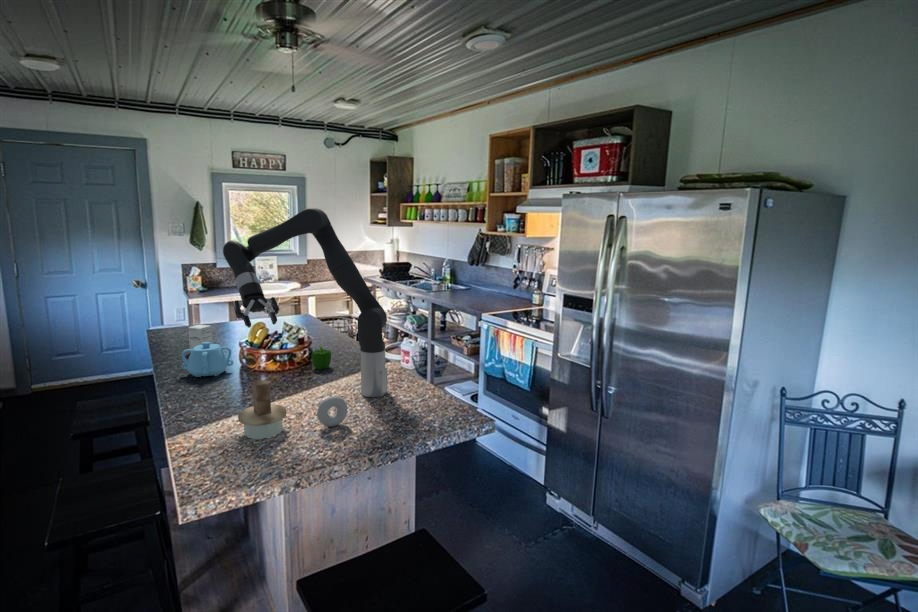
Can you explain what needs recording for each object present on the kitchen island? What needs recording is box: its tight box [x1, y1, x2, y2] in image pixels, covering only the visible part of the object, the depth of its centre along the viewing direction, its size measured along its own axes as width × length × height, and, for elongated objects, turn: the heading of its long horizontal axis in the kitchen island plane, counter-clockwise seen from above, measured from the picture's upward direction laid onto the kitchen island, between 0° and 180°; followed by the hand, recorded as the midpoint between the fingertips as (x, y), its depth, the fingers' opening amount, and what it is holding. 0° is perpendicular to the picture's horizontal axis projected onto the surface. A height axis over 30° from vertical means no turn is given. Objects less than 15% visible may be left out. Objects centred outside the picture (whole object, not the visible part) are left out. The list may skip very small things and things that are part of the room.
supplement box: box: [188, 323, 214, 349], centre depth 242 cm, size 7×7×13 cm
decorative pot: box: [181, 342, 234, 378], centre depth 210 cm, size 16×16×14 cm
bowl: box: [243, 419, 283, 440], centre depth 158 cm, size 11×11×5 cm
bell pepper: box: [311, 344, 332, 370], centre depth 221 cm, size 8×8×10 cm
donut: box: [316, 395, 349, 428], centre depth 162 cm, size 10×3×10 cm, turn 125°
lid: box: [237, 379, 287, 426], centre depth 156 cm, size 14×14×11 cm
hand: (262, 324), depth 174 cm, fingers open, 8 cm apart
